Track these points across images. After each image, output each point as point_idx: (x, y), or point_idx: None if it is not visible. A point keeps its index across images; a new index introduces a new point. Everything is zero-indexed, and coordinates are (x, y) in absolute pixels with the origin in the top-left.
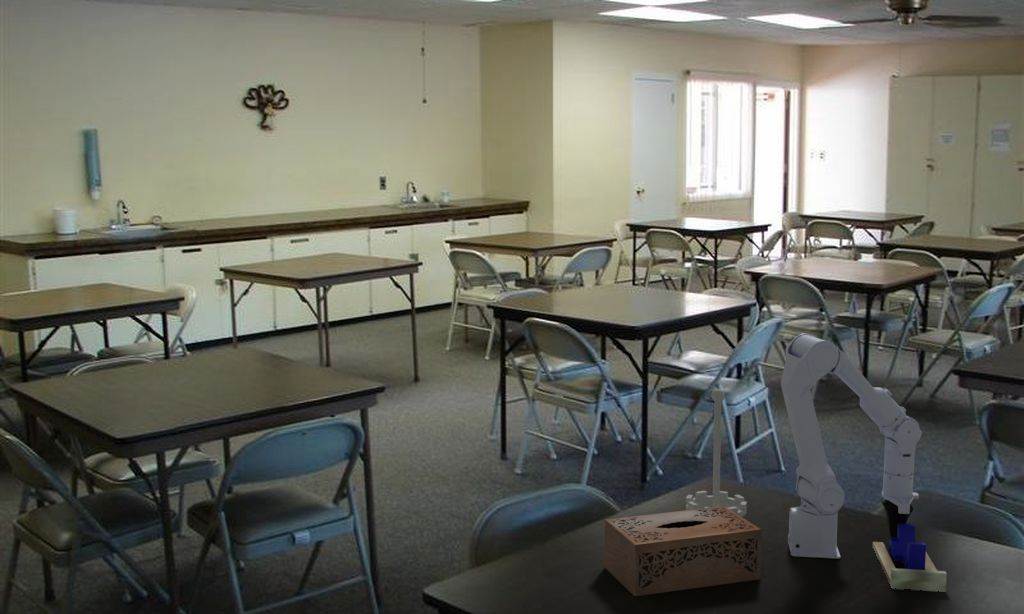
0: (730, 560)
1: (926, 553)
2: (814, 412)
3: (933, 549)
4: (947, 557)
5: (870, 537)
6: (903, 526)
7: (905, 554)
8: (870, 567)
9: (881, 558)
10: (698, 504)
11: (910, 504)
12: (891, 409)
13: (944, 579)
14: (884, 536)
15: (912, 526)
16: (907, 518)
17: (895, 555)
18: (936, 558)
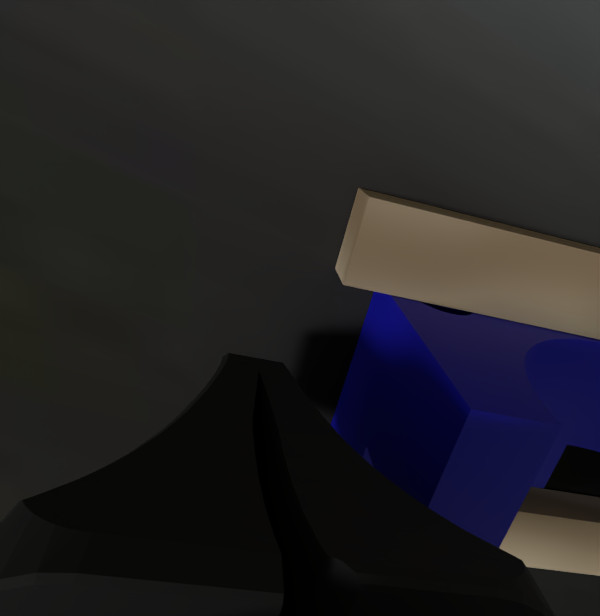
0: None
1: (580, 254)
2: None
3: (353, 61)
4: (560, 26)
5: (57, 457)
6: (503, 530)
7: (559, 421)
8: (561, 589)
9: (564, 566)
10: None
11: (274, 585)
12: None
13: None
14: (21, 356)
15: (549, 450)
16: (393, 488)
17: (545, 480)
18: (552, 144)
